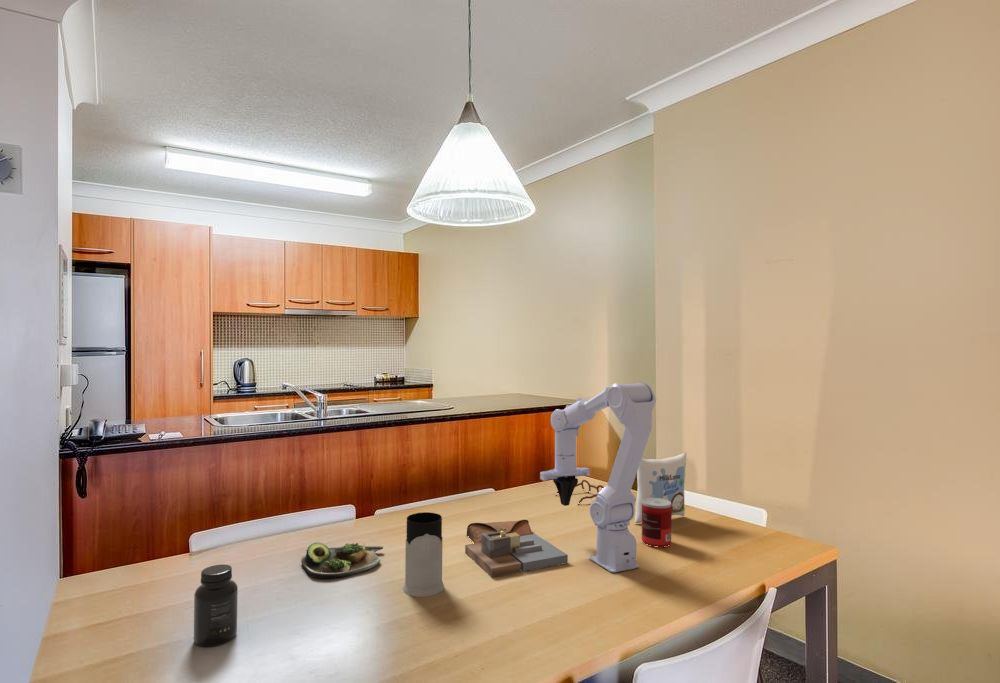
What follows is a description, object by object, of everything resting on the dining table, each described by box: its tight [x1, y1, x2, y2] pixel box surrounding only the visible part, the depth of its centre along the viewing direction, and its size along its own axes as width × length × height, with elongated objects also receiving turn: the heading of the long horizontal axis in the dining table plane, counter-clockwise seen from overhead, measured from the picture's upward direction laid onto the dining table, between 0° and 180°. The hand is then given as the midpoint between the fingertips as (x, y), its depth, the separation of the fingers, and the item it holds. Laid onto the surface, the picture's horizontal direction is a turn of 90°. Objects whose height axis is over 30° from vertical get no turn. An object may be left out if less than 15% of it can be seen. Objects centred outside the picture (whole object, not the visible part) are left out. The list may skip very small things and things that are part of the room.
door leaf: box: [510, 533, 569, 572], centre depth 137 cm, size 16×12×3 cm
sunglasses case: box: [466, 519, 534, 543], centre depth 150 cm, size 18×7×7 cm
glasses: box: [556, 479, 605, 504], centre depth 190 cm, size 13×13×5 cm
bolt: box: [490, 530, 520, 552], centre depth 134 cm, size 2×7×5 cm, turn 115°
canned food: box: [641, 498, 673, 547], centre depth 147 cm, size 8×8×11 cm
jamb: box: [464, 531, 522, 578], centre depth 133 cm, size 16×7×6 cm, turn 25°
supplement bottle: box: [193, 563, 239, 648], centre depth 98 cm, size 7×7×12 cm
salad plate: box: [300, 542, 384, 580], centre depth 132 cm, size 19×18×5 cm
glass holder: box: [402, 511, 445, 598], centre depth 121 cm, size 9×14×15 cm, turn 15°
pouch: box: [634, 451, 687, 524], centre depth 165 cm, size 8×19×20 cm, turn 112°
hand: (565, 504), depth 149 cm, fingers closed
